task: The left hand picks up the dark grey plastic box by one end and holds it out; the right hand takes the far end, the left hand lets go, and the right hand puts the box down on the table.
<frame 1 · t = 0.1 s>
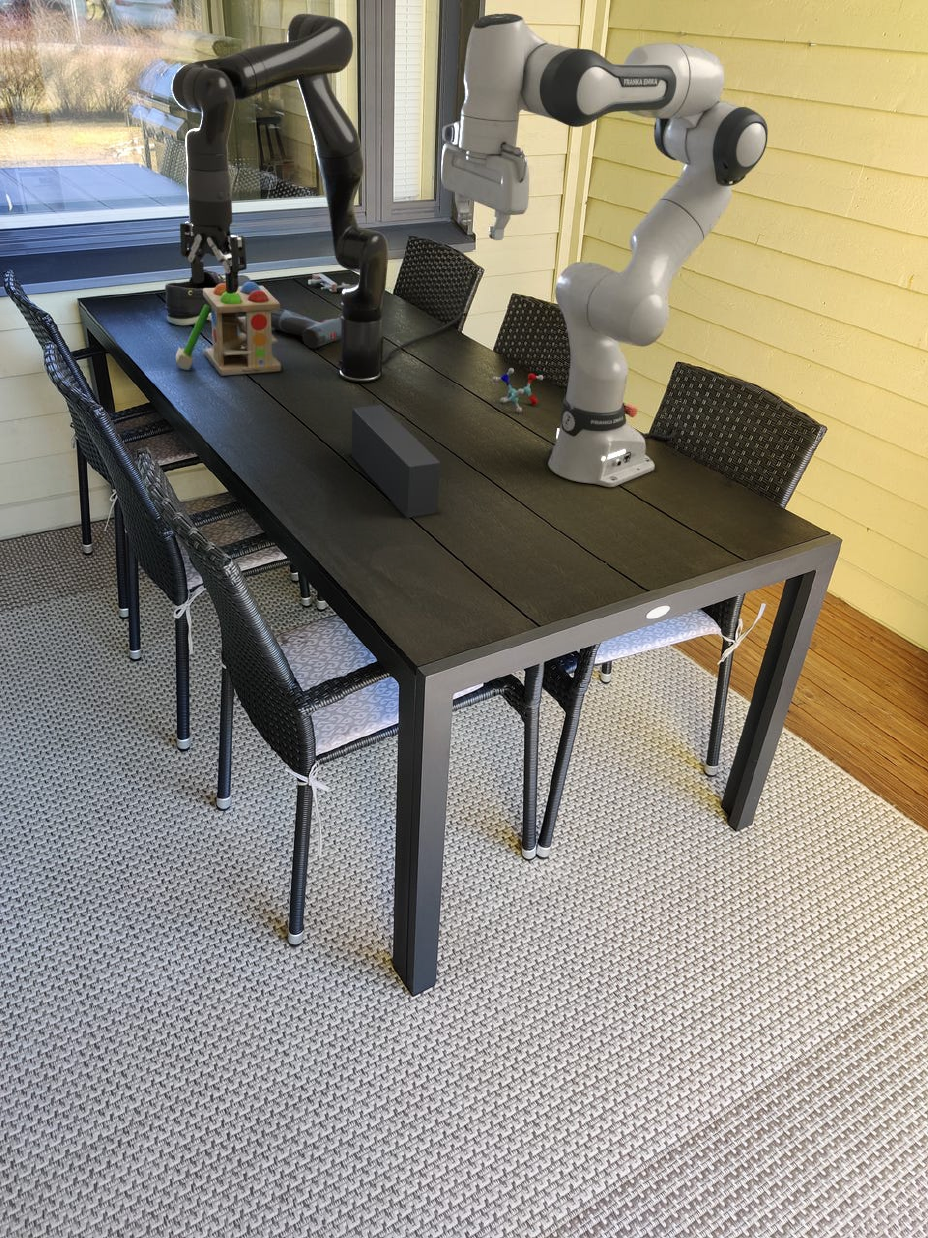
left hand: (215, 287, 183), 29 cm above the table, tool pointing down, fingers open, 8 cm apart
right hand: (479, 231, 158), 48 cm above the table, tool pointing down, fingers open, 8 cm apart
clamp: (329, 288, 288), on the table
box: (392, 483, 187), on the table
pounding bench toy: (225, 365, 230), on the table
molecular model: (513, 405, 225), on the table
boat shoe: (212, 309, 263), on the table
power drill: (311, 334, 253), on the table
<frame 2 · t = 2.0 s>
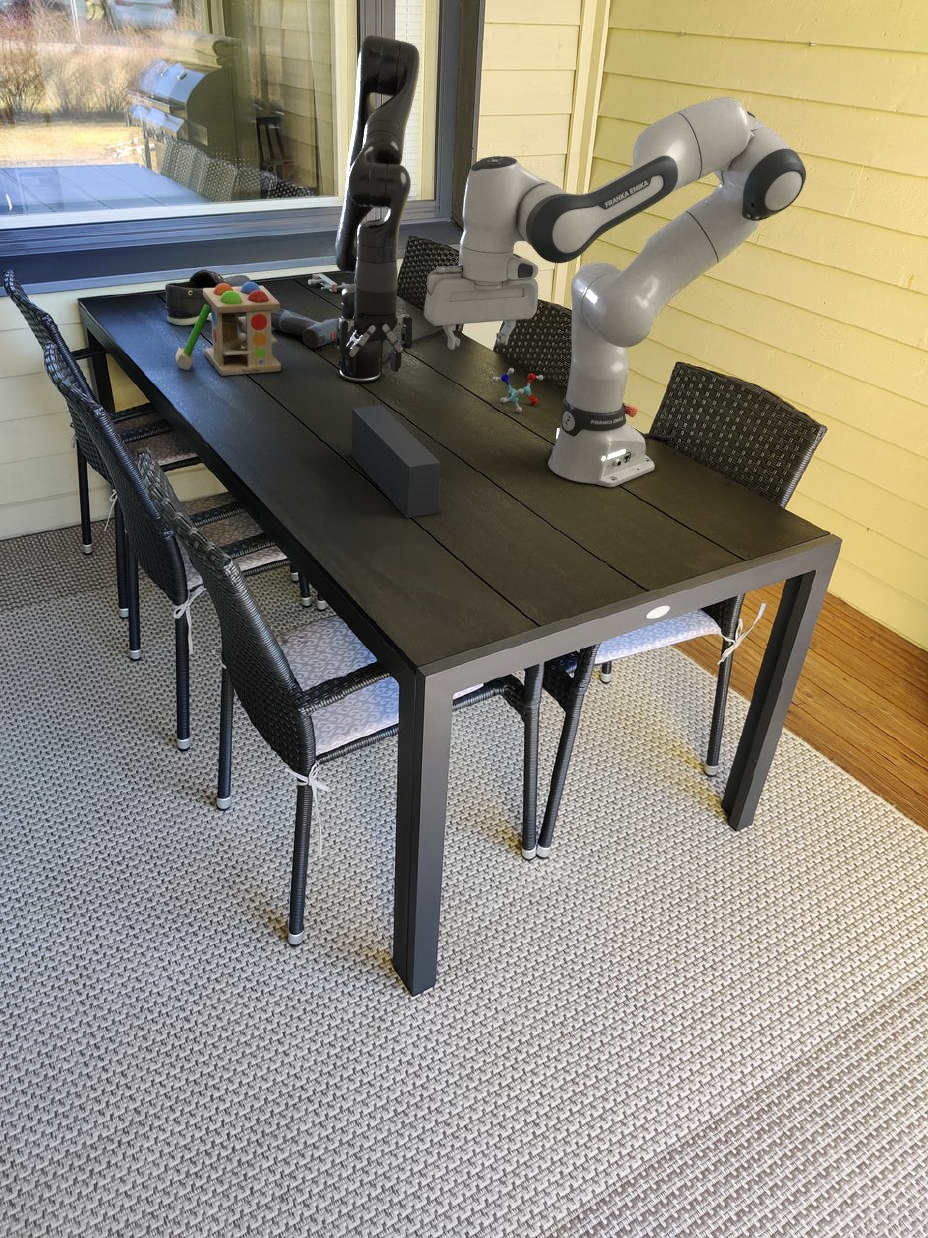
left hand: (373, 372, 184), 18 cm above the table, tool pointing down, fingers open, 8 cm apart
right hand: (477, 346, 170), 29 cm above the table, tool pointing down, fingers open, 8 cm apart
nothing on the table moved.
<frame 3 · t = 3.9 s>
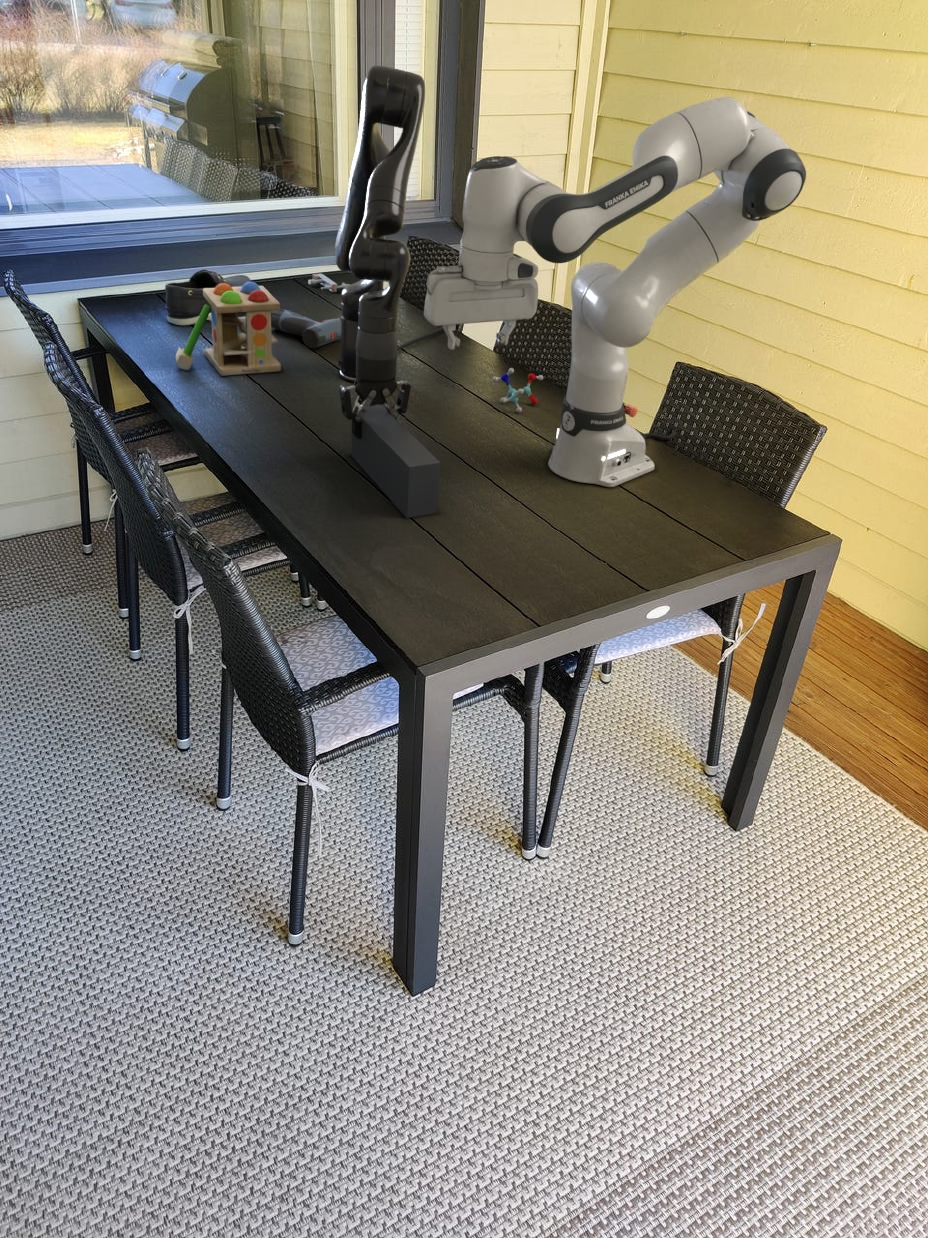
left hand: (373, 435, 191), 6 cm above the table, tool pointing down, fingers closed on box, 6 cm apart
right hand: (477, 346, 170), 29 cm above the table, tool pointing down, fingers open, 8 cm apart
box: (392, 483, 187), on the table, touching left hand
everything else where it was.
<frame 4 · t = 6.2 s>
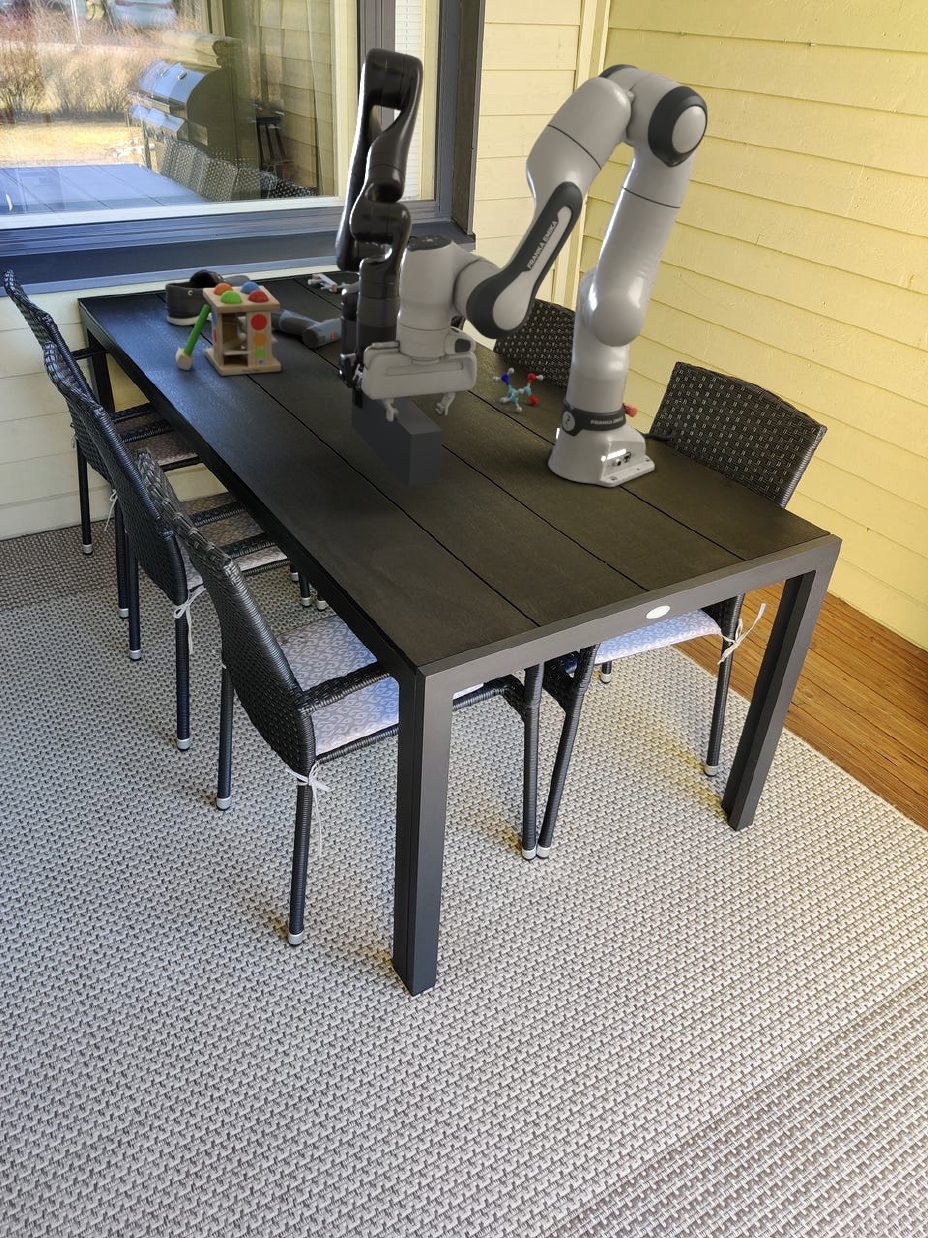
left hand: (374, 404, 188), 12 cm above the table, tool pointing down, fingers closed on box, 6 cm apart
right hand: (417, 417, 170), 17 cm above the table, tool pointing down, fingers open, 8 cm apart
box: (393, 453, 184), point 6 cm above the table, touching left hand
everything else where it was.
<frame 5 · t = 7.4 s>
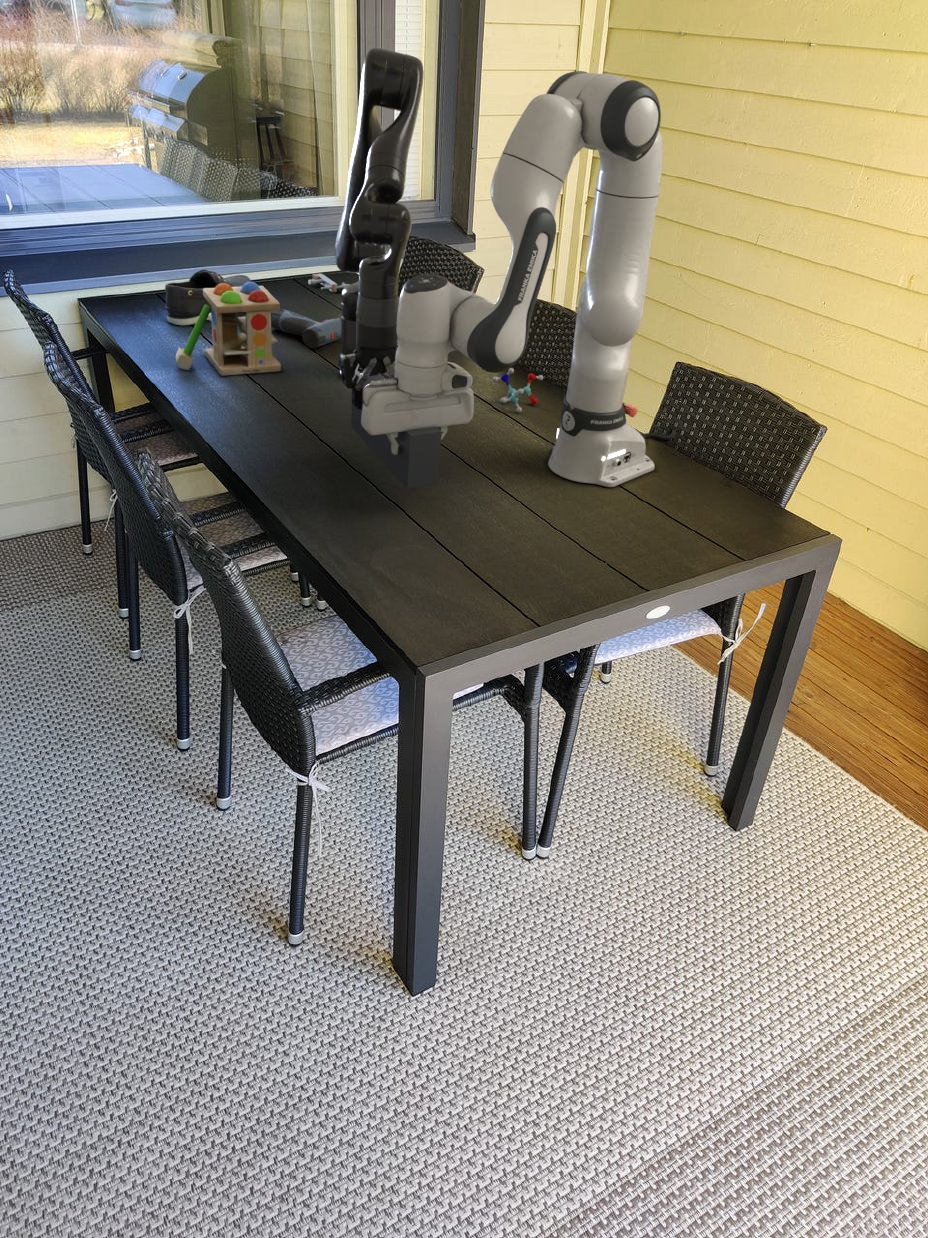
left hand: (374, 405, 188), 12 cm above the table, tool pointing down, fingers closed on box, 6 cm apart
right hand: (415, 450, 174), 11 cm above the table, tool pointing down, fingers closed on box, 6 cm apart
box: (392, 454, 184), point 6 cm above the table, touching left hand, right hand
everything else where it was.
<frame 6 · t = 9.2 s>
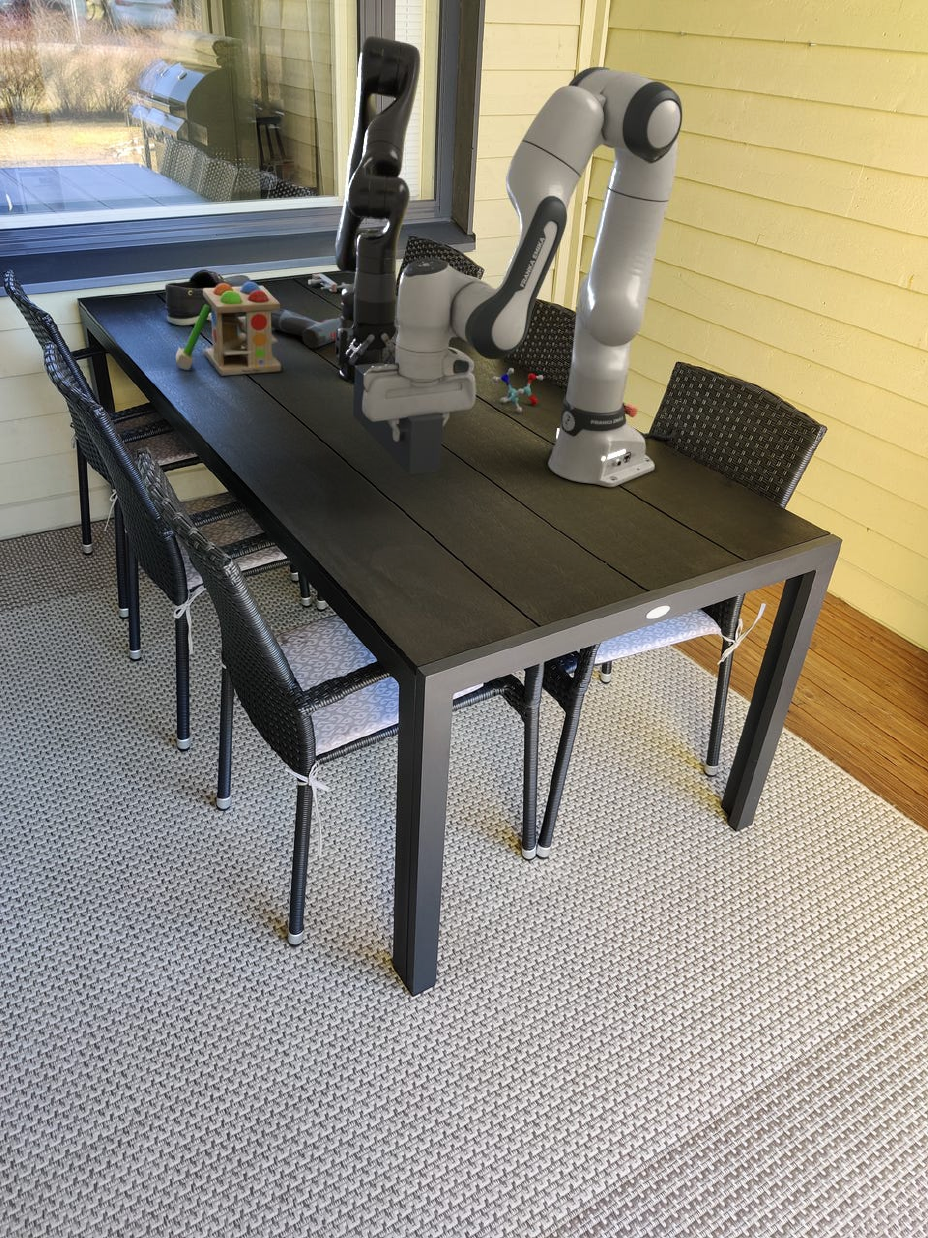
left hand: (371, 379, 186), 16 cm above the table, tool pointing down, fingers open, 8 cm apart
right hand: (417, 437, 173), 14 cm above the table, tool pointing down, fingers closed on box, 6 cm apart
box: (394, 441, 183), point 8 cm above the table, touching right hand
everything else where it was.
when the right hand's fingers open (6 cm above the table, at t = 12.1 s): box stays where it is, on the table.
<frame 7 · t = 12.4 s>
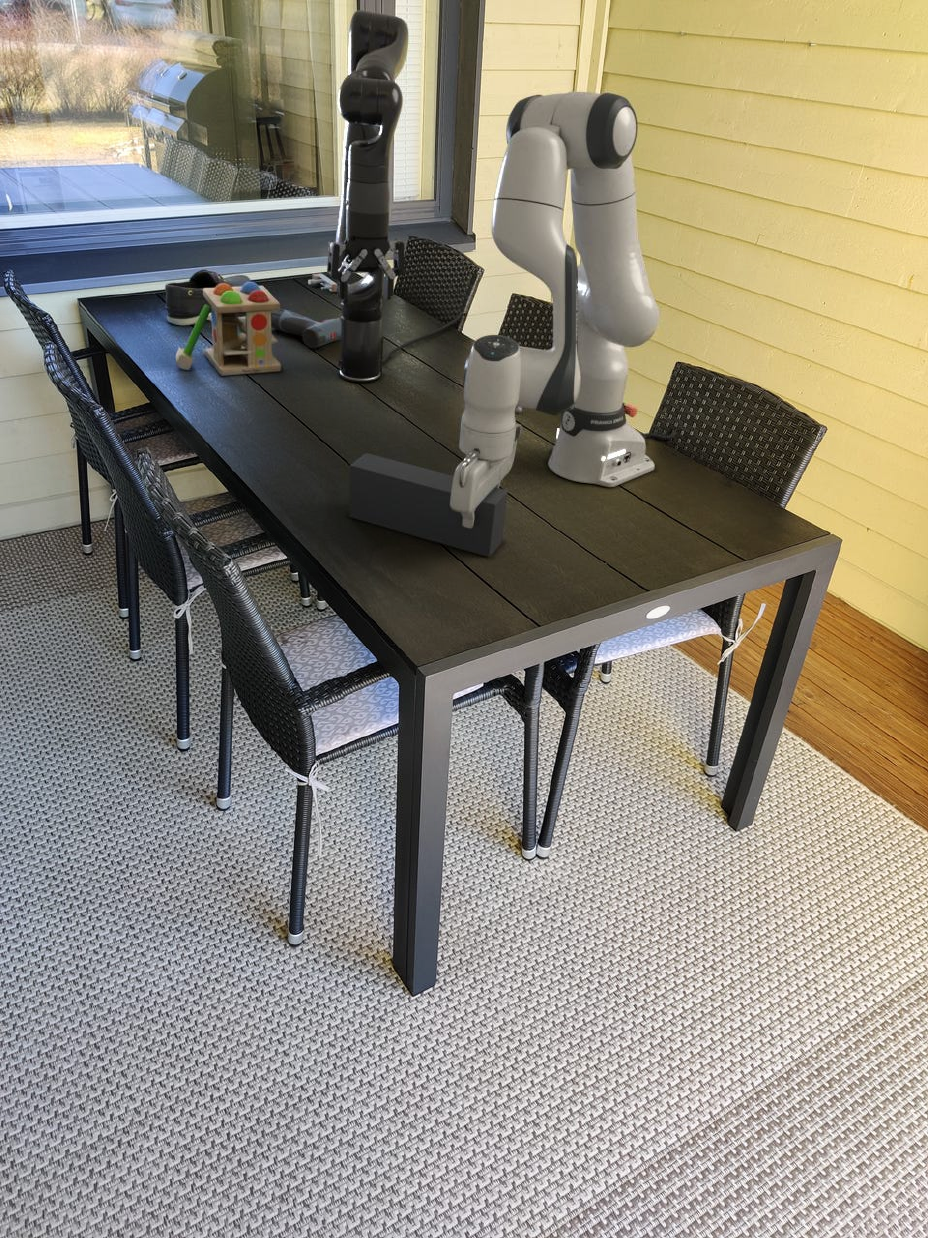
left hand: (365, 299, 181), 30 cm above the table, tool pointing down, fingers open, 8 cm apart
right hand: (479, 514, 167), 6 cm above the table, tool pointing down, fingers open, 8 cm apart
box: (424, 529, 173), on the table
everything else where it was.
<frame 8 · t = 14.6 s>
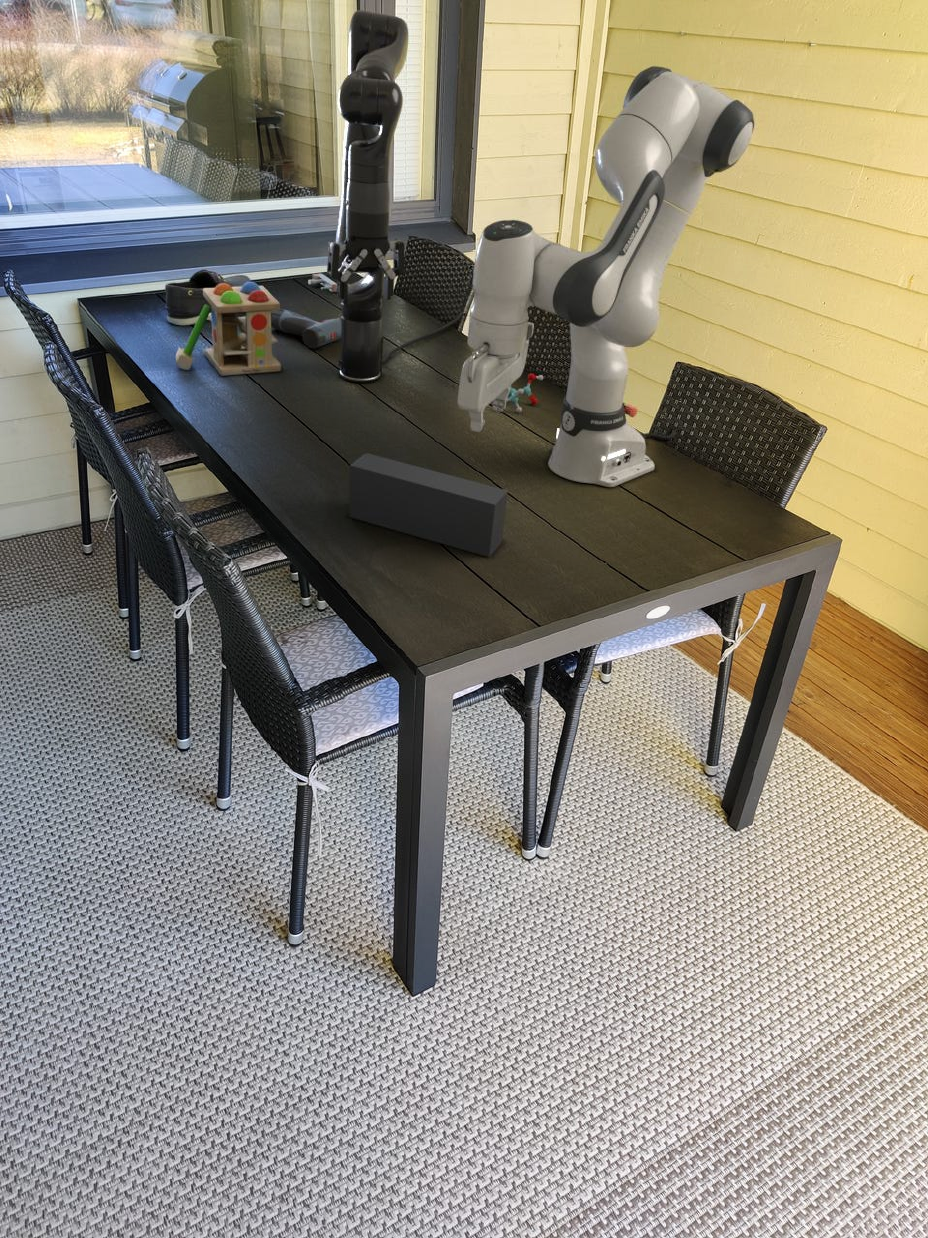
left hand: (365, 299, 181), 30 cm above the table, tool pointing down, fingers open, 8 cm apart
right hand: (488, 419, 158), 23 cm above the table, tool pointing down, fingers open, 8 cm apart
nothing on the table moved.
at the end: box inside the target area (9.7 cm from its centre), on the table; the left hand is holding nothing; the right hand is holding nothing; box at rest at the end (0.0 cm/s) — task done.
